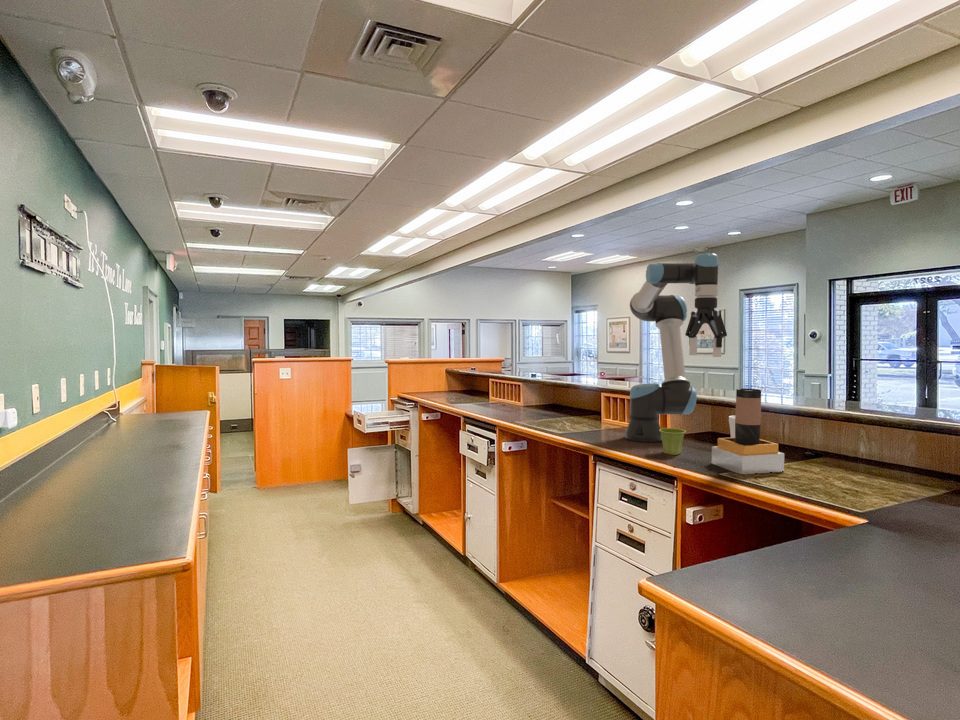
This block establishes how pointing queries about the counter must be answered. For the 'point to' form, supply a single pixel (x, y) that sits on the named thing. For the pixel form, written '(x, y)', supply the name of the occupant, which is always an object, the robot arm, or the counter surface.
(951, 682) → the counter surface
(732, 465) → the grey and brown box
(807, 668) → the counter surface
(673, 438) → the plant pot
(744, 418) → the travel mug
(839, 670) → the counter surface
